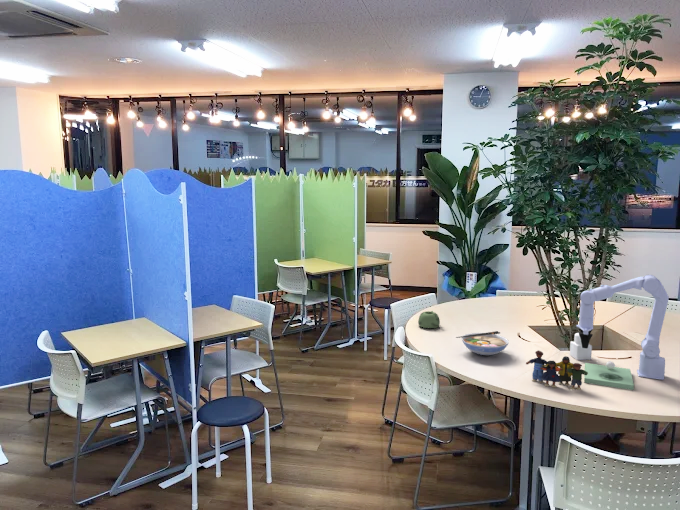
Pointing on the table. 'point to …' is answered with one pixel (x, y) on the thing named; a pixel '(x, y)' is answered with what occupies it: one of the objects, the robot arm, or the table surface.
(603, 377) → the deck
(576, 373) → the doll family
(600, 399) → the table surface
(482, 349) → the ramen bowl
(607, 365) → the ball
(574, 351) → the medicine bottle
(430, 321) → the green dome
